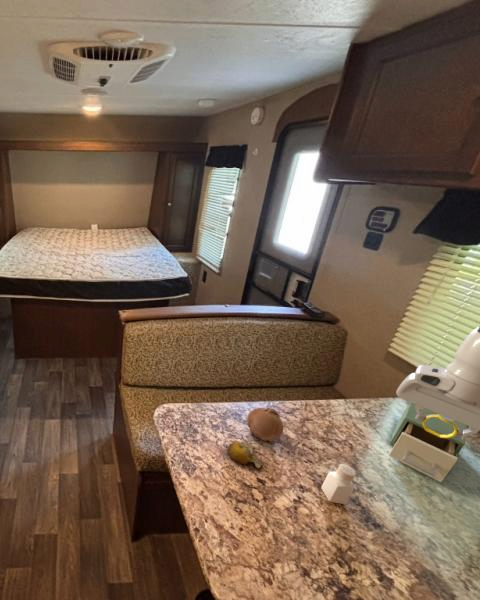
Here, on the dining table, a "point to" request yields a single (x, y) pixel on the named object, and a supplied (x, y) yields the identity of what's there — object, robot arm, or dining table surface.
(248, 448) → the fruit
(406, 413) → the cabinet
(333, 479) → the salt shaker
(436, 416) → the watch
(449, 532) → the dining table surface
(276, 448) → the dining table surface
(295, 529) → the dining table surface
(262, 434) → the onion
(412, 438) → the drawer
